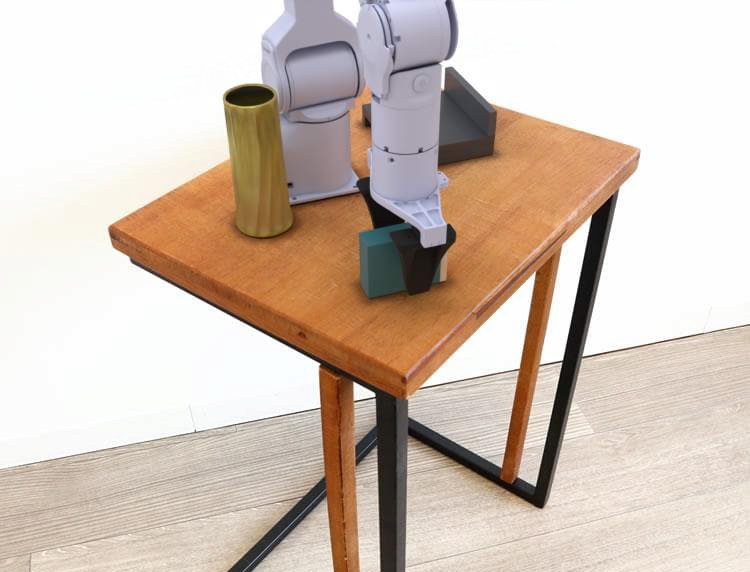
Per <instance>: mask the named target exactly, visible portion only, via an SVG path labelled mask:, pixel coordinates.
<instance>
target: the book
mask: <svg viewBox="0 0 750 572" xmlns="http://www.w3.org/2000/svg"><path fill="white" fill-rule="evenodd" d="M407 228H410V229H411V224H410V223H409V222H407V221H406V222H405V223H402V224H397V225H392V226H388V227H383V228H378V229H369V230H368V229H367V230H364V231H359V232H358V252H359V253H358V255H359V256H358V257H359V258H358V259H359V284H360V286H361V288H362V290H363V292H364V294H365V295H366V297H367V298H368V299H374V298H378V297H382V296H386V295H391V294H395V293H400V292H404V291H406V288H405V285H404V279H403V272H402V265H401V260H400V257H399V254H398V251H397V248H396V246H395V244H394V243H393V241H392V239H391V238H390V236H389V233H390V232H393V231H397V230H402V229H407ZM448 257H449V250H448V251H447V252H446V253H445V255H444V256H443V258H442V260H441V262H440V264H439V266H438V268H437V271H436V274H435V276H434V279H433V282H432V285H434V284H440V283H443V282H446V281H447V273H448V260H449V259H448Z"/></svg>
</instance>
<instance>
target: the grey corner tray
mask: <svg viewBox="0 0 750 572" xmlns="http://www.w3.org/2000/svg"><path fill="white" fill-rule="evenodd" d="M361 116H362V117H361V118H362V119H361V120H362V122H361V123H362V124H363V126H364V127H370V126H371V102H369V103H364V104H363V103H362V104H361ZM497 119H498V110H497V109H496V108H495V107H494V106H493V105H492V104H491V103H489V101H488V100H487V99H486V98H485V97H484V96H483V95H481V93H480V92H479V91H478V90H477V89H476V88H475V87H474V86H473V85H471V83H470V82H469V81H468V80H467V79H466V78H464V77H463V76H462V74H461V73H460V72H459V71H457V69H456V68H454V66H446V67H445V68H444V82H443V90H441V99H440V122H439V146H438V166H442V165H446V164H451V163H456V162H461V161H468V160H471V159H477V158H482V157H487V156H492V155H494V151H495V141H496V129H497Z"/></svg>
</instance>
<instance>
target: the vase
mask: <svg viewBox="0 0 750 572" xmlns="http://www.w3.org/2000/svg"><path fill="white" fill-rule="evenodd" d="M222 103H223V111H224V121H225V127H226V135H227V142H228V151H229V159H230V165H231V166H230V168H231V177H232V184H233V192H234V201H235V208H236V219H235V224H236V227H237V229H238V230H239V231H240V232H241V233H243V234H244V235H247V236H248V237H253V238H271V237H275V236H279V235H280V234H282V233H284V232H287V231H288V230H289V229H290V228H291V227H292V226H293V223H294V219H295V217H294V214H293V211H292V207H291V205H290V200H289V193H288V185H287V178H286V171H285V162H284V154H283V145H282V135H281V126H280V116H279V109H278V98H277V92H276V91H275V90H274V89H273V88H272V87H270V86H268V85H264V84H263V83H253V82H252V83H243V84H239V85H235V86H233V87H230V88H229V89H227V90H225V92H224V93H223V94H222Z"/></svg>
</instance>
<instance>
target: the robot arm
mask: <svg viewBox="0 0 750 572" xmlns="http://www.w3.org/2000/svg"><path fill="white" fill-rule="evenodd" d="M358 3H359V6H360V8H359V12H358V15H357V22H356V24H354V23H353V22H352V21H351V20H350V19H349V18H347V17H346V16H343V15H342V14H341V13H339V12H338V11H336V10H335V7H334V0H283V6H284V11H282V14H281V15H280V16H279V17H277V19H276V20H275V21H273V23H272V24H270V26H269V27H268V28H267V29H266V30H265V31H264V32H263V33H262V35H261V41H260V45H261V47H260V49H261V63H260V73H261V81H262V84H264V85H268V86H270V87H272V88H273V89H274V90H275V91H276V92H277V98H278V109H279V116H280V126H281V135H282V145H283V154H284V162H285V171H286V178H287V185H288V193H289V200H290V206H292V205H293V206H294V205H298V204H303V203H307V202H313V201H317V200H323V199H327V198H332V197H338V196H342V195H347V194H353V193H358V192H360V194H361V196H362V198H363V200H364V202H365V205H366V208H367V210H368V214H369V217H370V220H371V225H372V228H373V229H378V228H383V227H388V226H392V225H397V224H402V223H407V222H409V223H410V224H411V229H410V228H407V229H402V230H397V231H393V232H390V233H389V236H390V238H391V239H392V241H393V243H394V244H395V246H396V248H397V251H398V254H399V257H400V260H401V265H402V272H403V279H404V285H405V288H406V290H405V291H406V293H407V294H408V296H416V295H420V294H424V293H429V292H430V290H431V287H432V285H433V284H432V282H433V279H434V276H435V274H436V271H437V268H438V266H439V264H440V262H441V260H442V258H443V256H444V255H445V253H446V252H447V251H448V252H449V250H450V249H451V247H452V246H453V245H454V244H455V243H456V241H457V231H456V230H455V229H454V227H453V226H452V225H451V223H446V221H445V219H444V218H443V213H442V201H441V190H446V189H448V188H449V187H450V186H449V185H450V179H449V178H448V176H447V175H446V174H445V173H444V172H443V171H440V170H438V169H439V168H438V166H439V165H438V146H439V122H440V99H441V91H442V76H443V65H442V64H441V63H442V62H445V61H449V60H451V59H452V58H453V56H454V55H455V53H456V51H457V47H458V44H459V22H458V21H459V20H458V19H459V18H458V14H457V9H456V5H455V1H454V0H358ZM365 88H368V89H369V90H370V103H371V128H370V129H371V147H368V148H367V149H366V153H367V154H366V155H367V156H366V158H367V168H368V170H369V172H370V173H369V176H365V177H361V178H359V176H358V175H357V173H356V172H355V170H354V168H353V167H352V142H351V112H350V111H351V110H353V109H355V108H356V99H358V98H360V97H361V96H362V95H363V93H364V90H365ZM373 229H372V230H373Z"/></svg>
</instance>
